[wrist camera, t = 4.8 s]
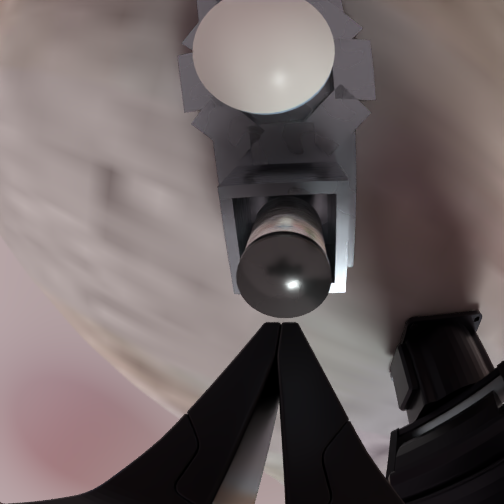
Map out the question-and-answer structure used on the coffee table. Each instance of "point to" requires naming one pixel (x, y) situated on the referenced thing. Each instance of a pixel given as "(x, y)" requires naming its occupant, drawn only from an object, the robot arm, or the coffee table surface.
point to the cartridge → (263, 54)
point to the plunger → (285, 260)
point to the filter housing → (290, 145)
